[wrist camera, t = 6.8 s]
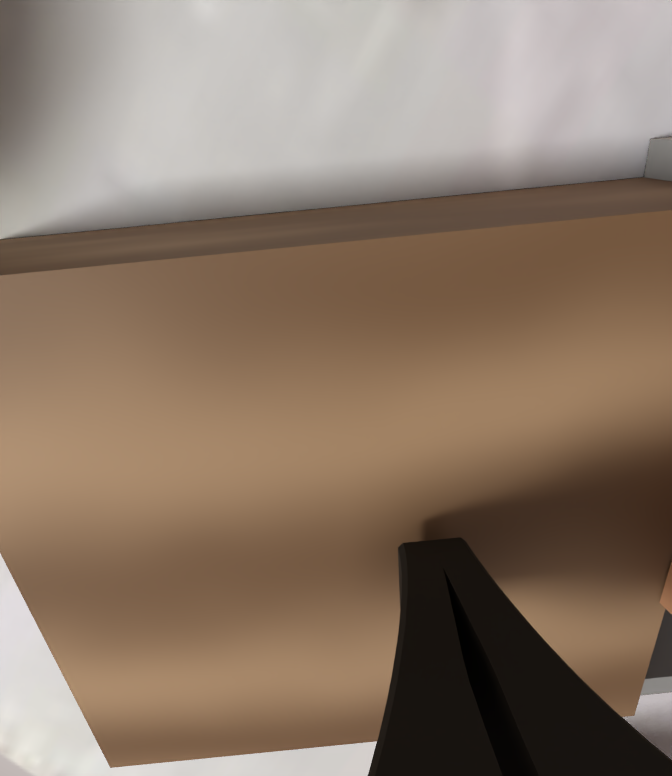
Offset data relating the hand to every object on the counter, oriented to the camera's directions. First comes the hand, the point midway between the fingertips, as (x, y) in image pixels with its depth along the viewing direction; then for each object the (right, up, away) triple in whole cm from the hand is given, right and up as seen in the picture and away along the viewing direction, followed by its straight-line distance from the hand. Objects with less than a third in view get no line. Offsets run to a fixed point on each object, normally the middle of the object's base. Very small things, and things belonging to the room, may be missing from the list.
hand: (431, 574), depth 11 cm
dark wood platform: (-2, +2, +4) cm, 5 cm away
